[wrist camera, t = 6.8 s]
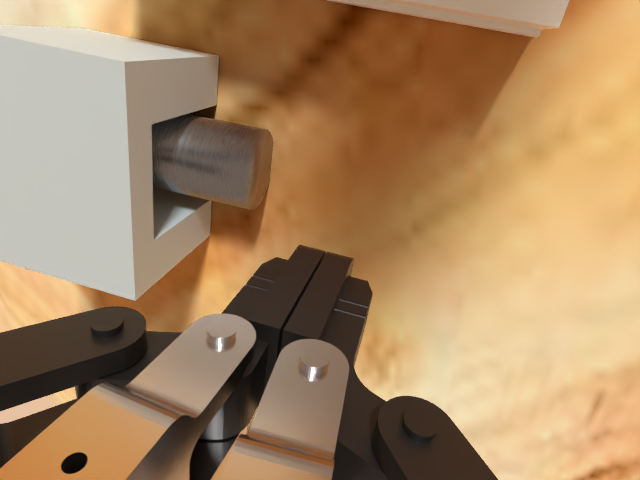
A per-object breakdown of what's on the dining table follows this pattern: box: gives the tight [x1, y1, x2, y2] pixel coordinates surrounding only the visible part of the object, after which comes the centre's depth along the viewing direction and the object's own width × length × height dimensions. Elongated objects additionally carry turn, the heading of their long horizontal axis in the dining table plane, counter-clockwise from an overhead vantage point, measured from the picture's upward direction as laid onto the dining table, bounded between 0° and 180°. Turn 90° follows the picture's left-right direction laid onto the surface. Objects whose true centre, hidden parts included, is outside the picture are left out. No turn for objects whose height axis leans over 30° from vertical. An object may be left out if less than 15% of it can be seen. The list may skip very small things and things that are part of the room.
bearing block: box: [0, 25, 219, 301], centre depth 16 cm, size 6×8×6 cm
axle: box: [152, 114, 273, 210], centre depth 18 cm, size 16×3×3 cm, turn 80°
